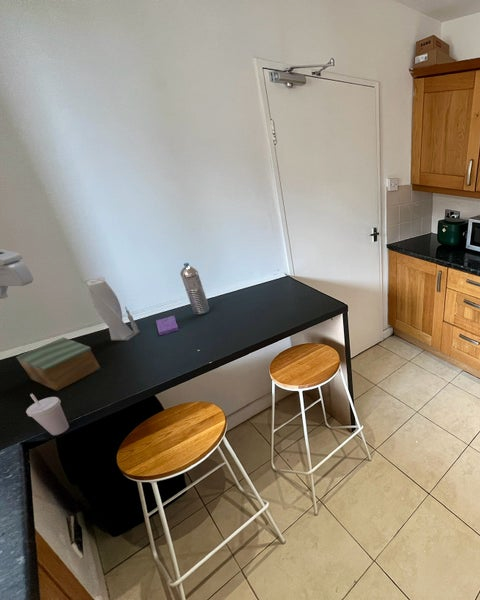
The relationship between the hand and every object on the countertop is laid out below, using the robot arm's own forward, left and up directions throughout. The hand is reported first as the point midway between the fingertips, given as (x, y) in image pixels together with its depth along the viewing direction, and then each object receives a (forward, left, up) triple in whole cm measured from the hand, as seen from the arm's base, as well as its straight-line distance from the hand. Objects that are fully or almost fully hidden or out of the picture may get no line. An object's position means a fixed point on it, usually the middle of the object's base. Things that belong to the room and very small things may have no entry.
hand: (0, 297), depth 102 cm
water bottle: (+44, +30, -29) cm, 61 cm away
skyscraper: (+18, +15, -29) cm, 37 cm away
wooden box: (+10, -7, -28) cm, 31 cm away
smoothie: (+24, -36, -29) cm, 52 cm away
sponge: (+33, +19, -29) cm, 48 cm away
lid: (+10, -7, -19) cm, 23 cm away
